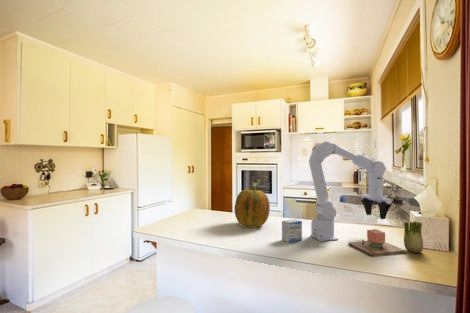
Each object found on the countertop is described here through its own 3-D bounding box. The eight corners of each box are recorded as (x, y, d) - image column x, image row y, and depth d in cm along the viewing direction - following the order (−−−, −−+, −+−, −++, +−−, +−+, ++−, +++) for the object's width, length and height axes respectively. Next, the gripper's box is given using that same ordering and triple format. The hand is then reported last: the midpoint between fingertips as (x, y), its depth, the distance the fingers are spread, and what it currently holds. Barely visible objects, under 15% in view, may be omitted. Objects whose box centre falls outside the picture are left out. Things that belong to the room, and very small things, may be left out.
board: (371, 256, 84) (371, 249, 84) (348, 244, 96) (348, 238, 96) (406, 253, 88) (406, 246, 88) (379, 242, 100) (379, 236, 100)
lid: (376, 244, 88) (376, 233, 88) (363, 239, 94) (363, 228, 94) (388, 243, 90) (388, 232, 90) (375, 238, 96) (375, 228, 96)
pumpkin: (267, 222, 131) (267, 178, 132) (271, 232, 112) (272, 181, 112) (234, 221, 131) (235, 178, 132) (233, 231, 112) (234, 181, 113)
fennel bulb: (403, 251, 90) (403, 220, 90) (405, 248, 93) (404, 218, 93) (422, 255, 86) (422, 223, 86) (423, 252, 89) (423, 221, 90)
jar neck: (376, 248, 89) (376, 244, 89) (366, 244, 94) (366, 240, 94) (385, 247, 90) (385, 243, 90) (375, 243, 95) (375, 239, 95)
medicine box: (288, 243, 97) (288, 222, 97) (281, 240, 101) (281, 220, 101) (302, 240, 101) (302, 220, 101) (295, 237, 105) (295, 218, 105)
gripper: (397, 188, 98) (397, 220, 98) (369, 185, 112) (369, 212, 112) (384, 189, 97) (384, 221, 96) (357, 185, 111) (357, 213, 110)
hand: (375, 216), depth 104 cm, fingers open, 7 cm apart
